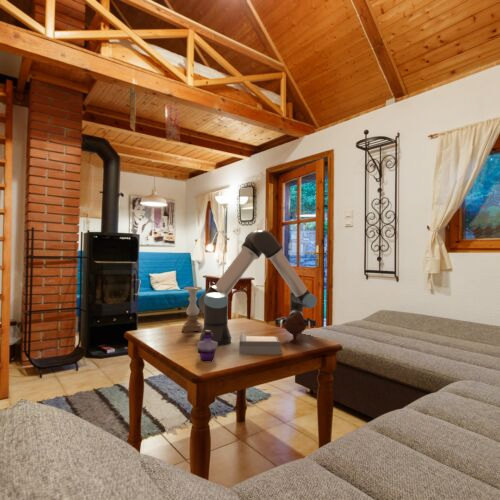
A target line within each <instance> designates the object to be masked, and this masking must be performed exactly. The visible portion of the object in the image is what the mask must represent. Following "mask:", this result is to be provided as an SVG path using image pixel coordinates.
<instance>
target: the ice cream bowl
mask: <svg viewBox="0 0 500 500" xmlns="http://www.w3.org/2000/svg"><path fill="white" fill-rule="evenodd" d="M286 318H287V319H286V322H285V323H284V324H283V325H284V326H283V327H284V329H285V330H286V331H287V332H288V333H289V334H291V335H292V339H291V340H290V341H288V343H289V344H291V345H301V341H300V340H298V338H297V337H298V335H301V334H302V333H303V332H304V331H305V330H306V328H307V326H308V325H307V324H306V323H304V321H303V320H304V319H305V317H304V314H303V315H302V314H301V313H294V314H293V315H291V316H289V315H288V317H286Z"/></svg>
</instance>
